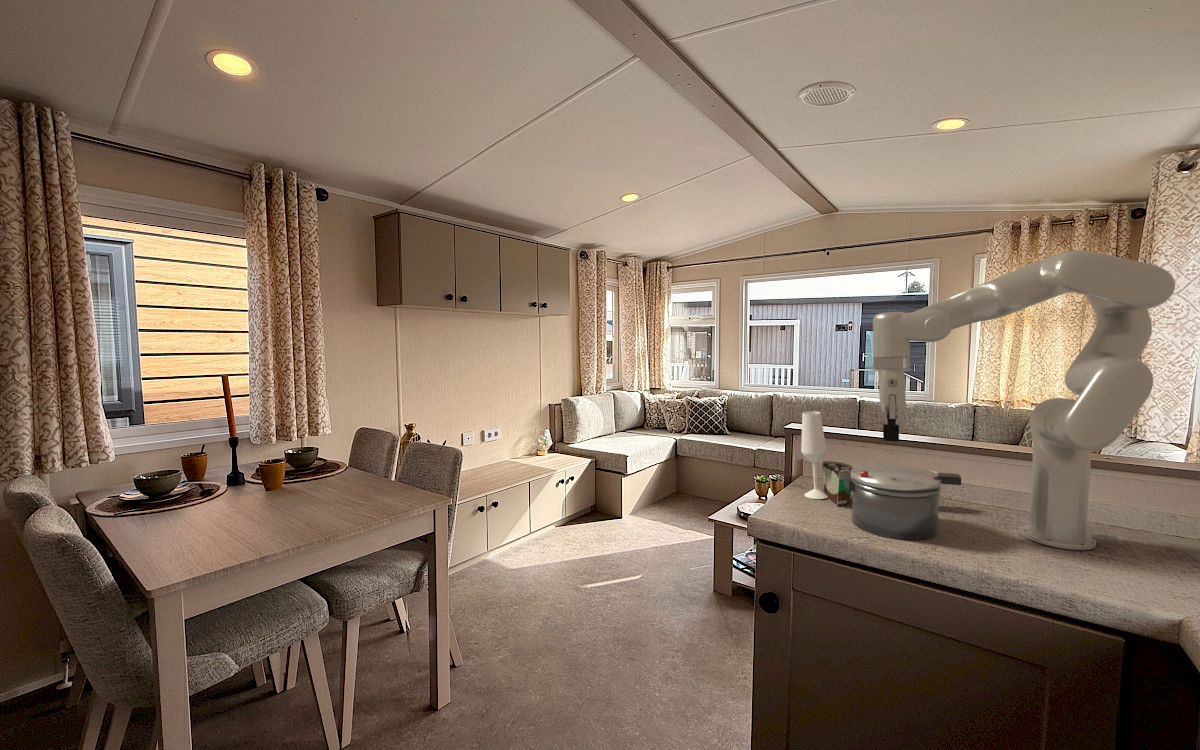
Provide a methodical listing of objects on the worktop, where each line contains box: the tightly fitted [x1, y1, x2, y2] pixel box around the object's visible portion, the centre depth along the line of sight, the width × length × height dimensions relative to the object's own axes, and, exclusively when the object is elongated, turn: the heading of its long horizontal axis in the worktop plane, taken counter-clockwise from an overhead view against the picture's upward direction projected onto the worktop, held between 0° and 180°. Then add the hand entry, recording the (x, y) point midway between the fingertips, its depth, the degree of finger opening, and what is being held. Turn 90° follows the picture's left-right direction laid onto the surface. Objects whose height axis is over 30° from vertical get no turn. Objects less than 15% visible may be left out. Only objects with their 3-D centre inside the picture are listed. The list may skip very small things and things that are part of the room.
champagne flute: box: [800, 411, 828, 500], centre depth 145 cm, size 7×7×24 cm
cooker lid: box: [851, 463, 962, 491], centre depth 122 cm, size 22×19×2 cm
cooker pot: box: [849, 477, 942, 542], centre depth 123 cm, size 19×19×11 cm
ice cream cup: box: [821, 460, 854, 508], centre depth 141 cm, size 12×6×10 cm, turn 178°
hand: (891, 440), depth 122 cm, fingers closed
